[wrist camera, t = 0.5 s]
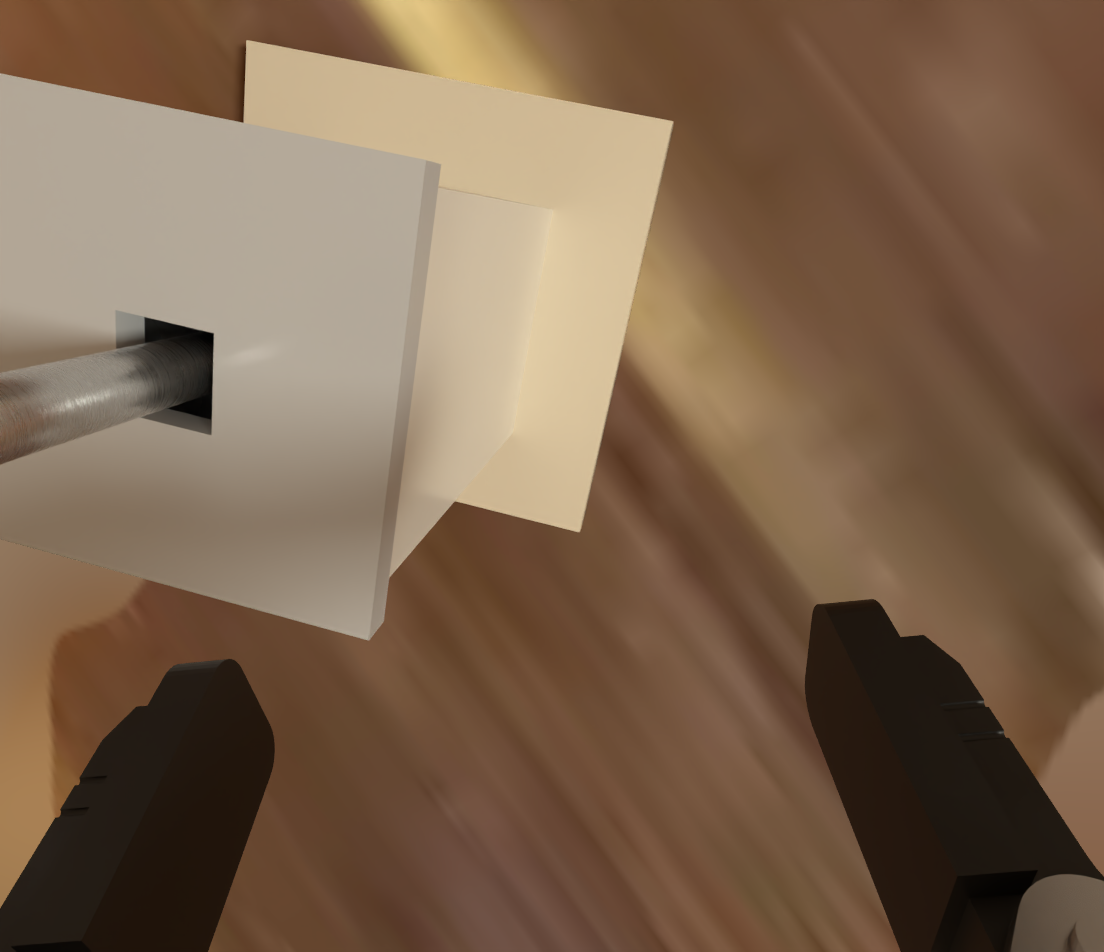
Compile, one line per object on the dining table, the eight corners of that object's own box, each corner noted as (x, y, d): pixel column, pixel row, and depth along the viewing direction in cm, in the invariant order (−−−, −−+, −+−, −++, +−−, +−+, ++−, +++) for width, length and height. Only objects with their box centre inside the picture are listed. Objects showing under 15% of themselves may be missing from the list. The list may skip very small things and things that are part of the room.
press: (261, 46, 34) (-268, -189, 15) (673, 125, 32) (659, -32, 13) (244, 439, 41) (-131, 614, 22) (582, 523, 39) (488, 795, 20)
